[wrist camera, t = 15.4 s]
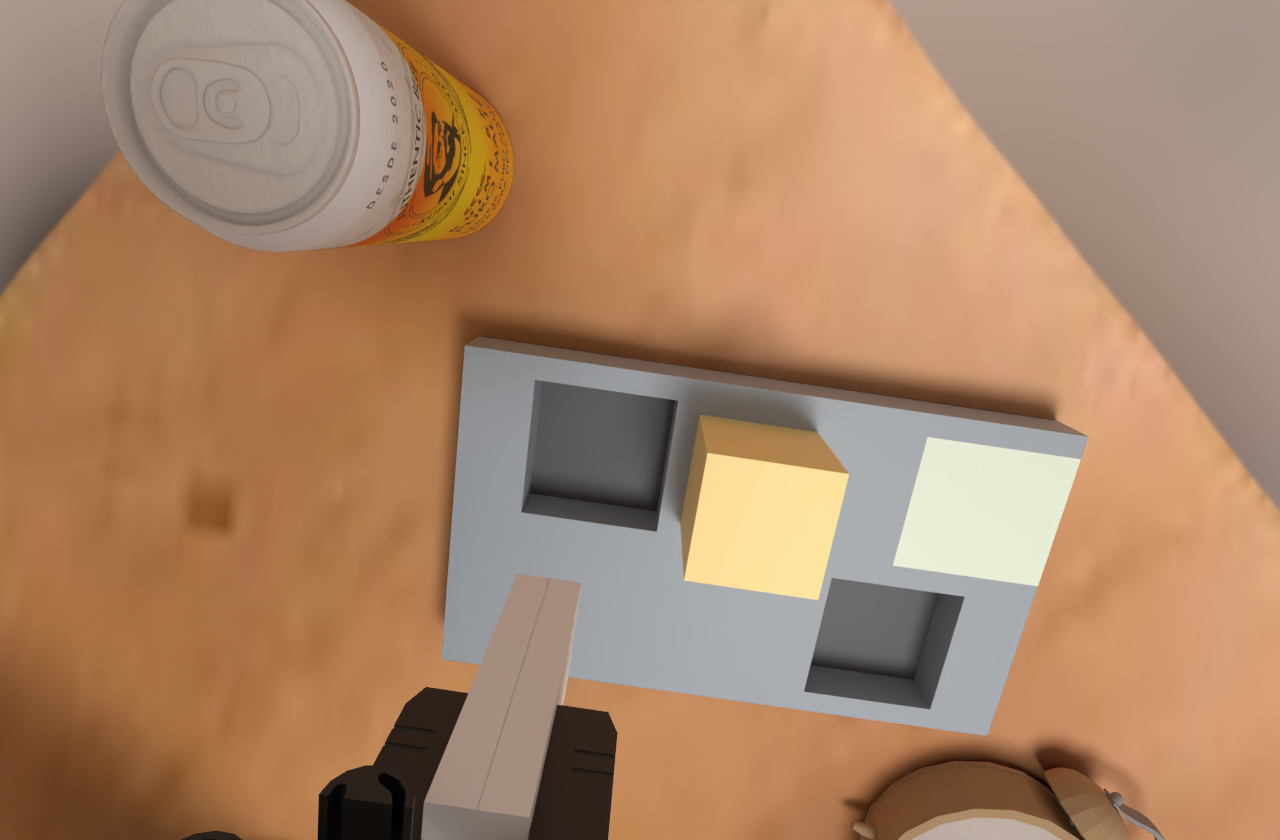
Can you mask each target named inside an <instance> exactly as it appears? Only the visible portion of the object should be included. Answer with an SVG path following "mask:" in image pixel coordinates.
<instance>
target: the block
mask: <svg viewBox="0 0 1280 840" xmlns="http://www.w3.org/2000/svg"><path fill="white" fill-rule="evenodd" d="M848 477H849V473H848V472H847V470H846V469H845V468H844V466H843V465H842V464H841V462H840V461H839V460H838V458H837V457H836V456H835V454H834V453H833V452H832V450H831V449H830V448H829V446H828V445H827V444H826V442H825V441H824V440H823V438H822V437H821V436H820V434H819V433H818V432H813V431H806V430H799V429H793V428H786V427H779V426H773V425H766V424H759V423H753V422H746V421H739V420H733V419H726V418H719V417H713V416H706V415H699V421H698V426H697V432H696V438H695V443H694V449H693V455H692V460H691V466H690V471H689V477H688V483H687V488H686V494H685V499H684V505H683V511H682V516H681V522H680V528H681V543H682V558H683V573H684V581H691V582H697V583H704V584H711V585H718V586H725V587H732V588H738V589H745V590H752V591H759V592H766V593H772V594H779V595H786V596H793V597H800V598H807V599H813V600H818V599H819V595H820V591H821V587H822V583H823V579H824V575H825V571H826V566H827V562H828V558H829V554H830V550H831V546H832V542H833V538H834V534H835V530H836V526H837V522H838V518H839V514H840V510H841V506H842V502H843V497H844V493H845V489H846V485H847V481H848Z"/></svg>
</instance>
